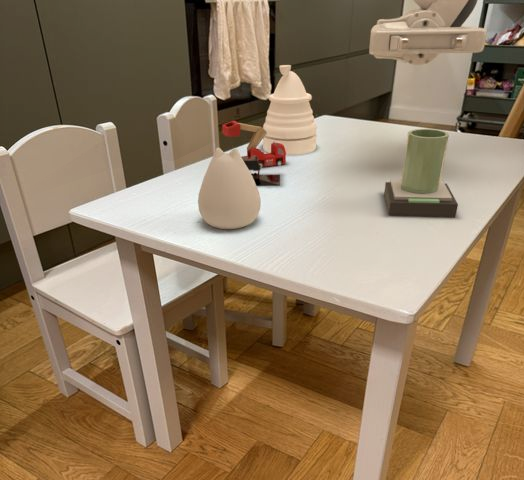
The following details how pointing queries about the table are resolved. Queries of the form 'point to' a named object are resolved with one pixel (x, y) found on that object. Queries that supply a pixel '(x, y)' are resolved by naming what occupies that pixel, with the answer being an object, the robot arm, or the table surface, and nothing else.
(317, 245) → the table surface
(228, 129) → the toy fire truck
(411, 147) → the cup
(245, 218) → the toy character
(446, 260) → the table surface
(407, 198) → the scale
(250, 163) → the build plate
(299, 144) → the honey pot
